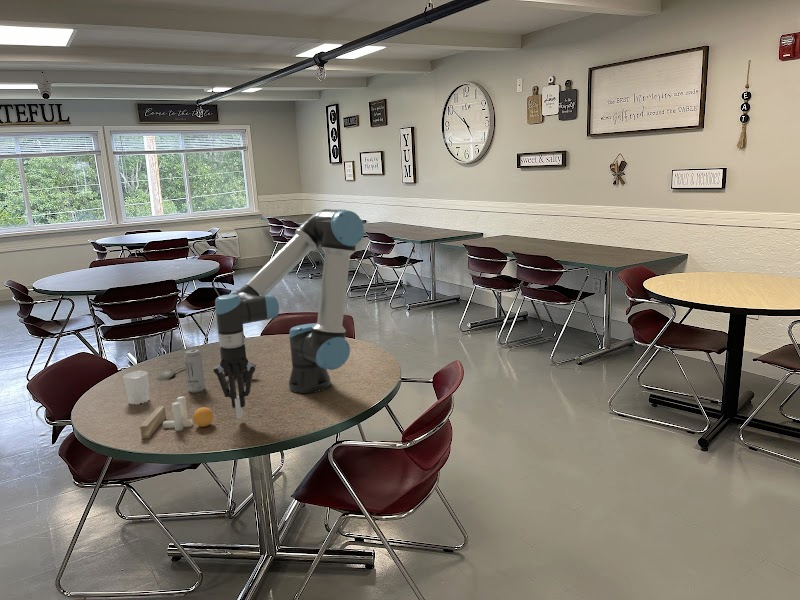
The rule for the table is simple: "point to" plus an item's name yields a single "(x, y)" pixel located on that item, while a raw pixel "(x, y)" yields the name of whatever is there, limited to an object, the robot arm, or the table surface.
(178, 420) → the pin
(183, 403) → the pin
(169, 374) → the soupspoon
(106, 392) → the table surface
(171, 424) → the front pin
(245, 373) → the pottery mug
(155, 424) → the back wall
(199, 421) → the ball
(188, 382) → the energy drink can
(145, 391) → the white cup
